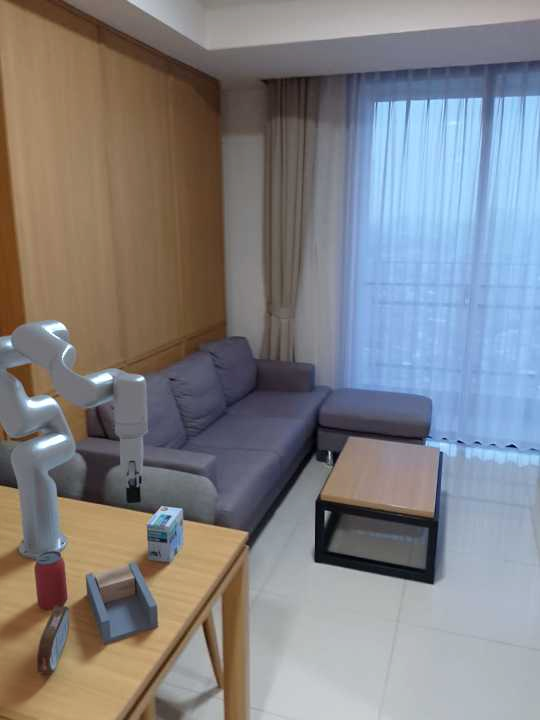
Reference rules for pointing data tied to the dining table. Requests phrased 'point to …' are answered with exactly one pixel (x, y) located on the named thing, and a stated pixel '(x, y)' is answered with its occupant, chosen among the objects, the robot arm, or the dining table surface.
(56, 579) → the beer can
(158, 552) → the light bulb box
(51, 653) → the tin
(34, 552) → the robot arm
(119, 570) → the brown cardboard box
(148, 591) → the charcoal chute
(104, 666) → the dining table surface
